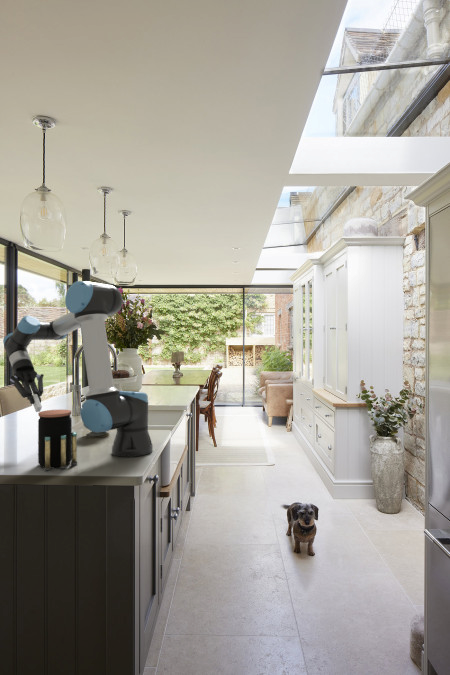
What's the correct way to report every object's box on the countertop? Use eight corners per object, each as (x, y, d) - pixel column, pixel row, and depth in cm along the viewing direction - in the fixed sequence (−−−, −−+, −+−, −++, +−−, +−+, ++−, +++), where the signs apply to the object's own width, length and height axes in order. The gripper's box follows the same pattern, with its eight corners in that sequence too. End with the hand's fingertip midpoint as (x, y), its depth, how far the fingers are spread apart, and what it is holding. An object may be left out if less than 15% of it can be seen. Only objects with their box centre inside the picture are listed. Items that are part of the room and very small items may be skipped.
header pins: (43, 470, 142) (43, 436, 142) (75, 463, 150) (75, 431, 150) (48, 473, 140) (48, 438, 140) (80, 466, 147) (80, 433, 147)
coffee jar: (53, 458, 156) (53, 408, 156) (78, 461, 153) (78, 410, 153) (31, 467, 146) (31, 413, 146) (57, 470, 143) (57, 415, 143)
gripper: (35, 369, 183) (53, 413, 171) (2, 371, 174) (18, 418, 162) (40, 357, 180) (58, 401, 168) (7, 358, 170) (23, 405, 158)
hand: (38, 409), depth 165 cm, fingers closed
